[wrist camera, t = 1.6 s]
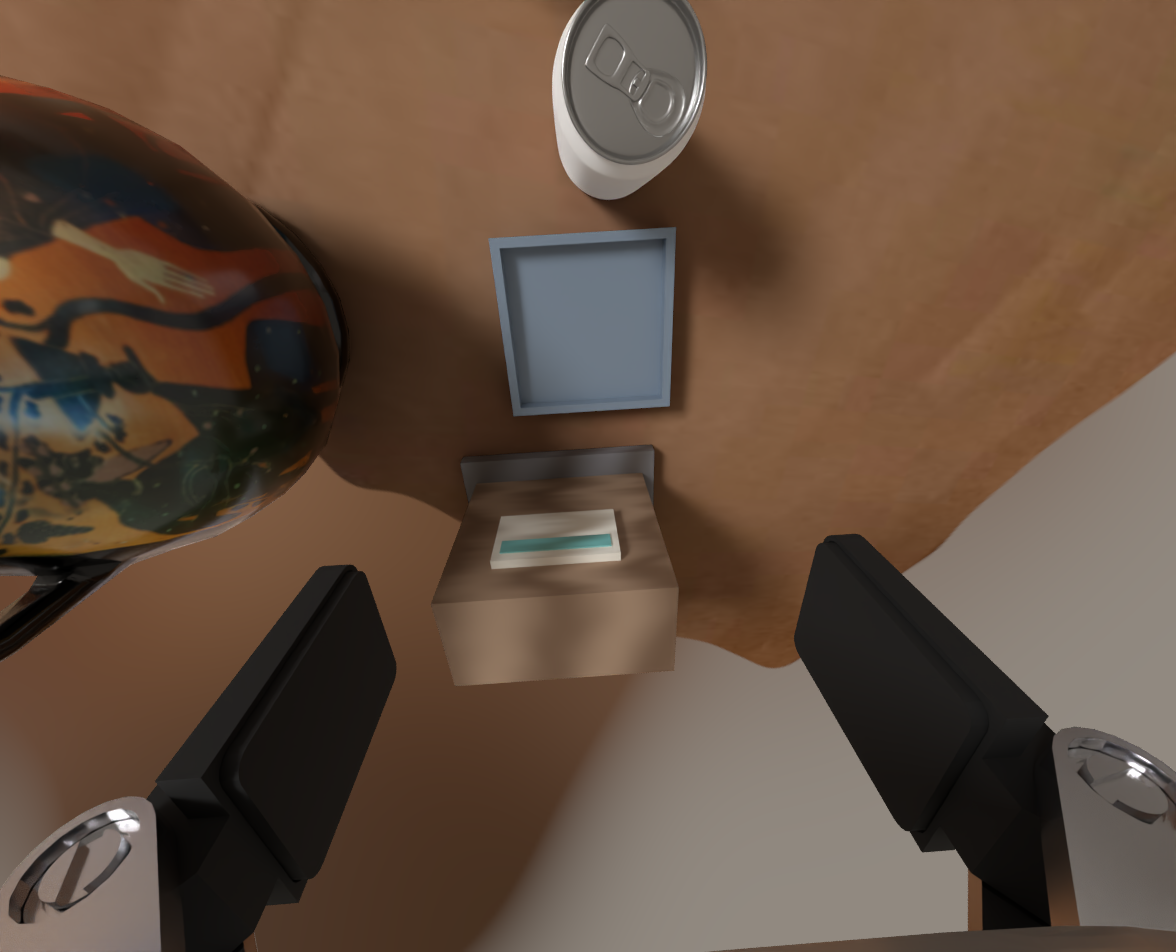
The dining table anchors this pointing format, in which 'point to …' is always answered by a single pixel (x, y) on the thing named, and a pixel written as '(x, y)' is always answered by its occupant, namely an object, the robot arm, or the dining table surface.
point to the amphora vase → (142, 352)
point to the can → (627, 91)
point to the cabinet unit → (558, 569)
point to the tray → (586, 319)
